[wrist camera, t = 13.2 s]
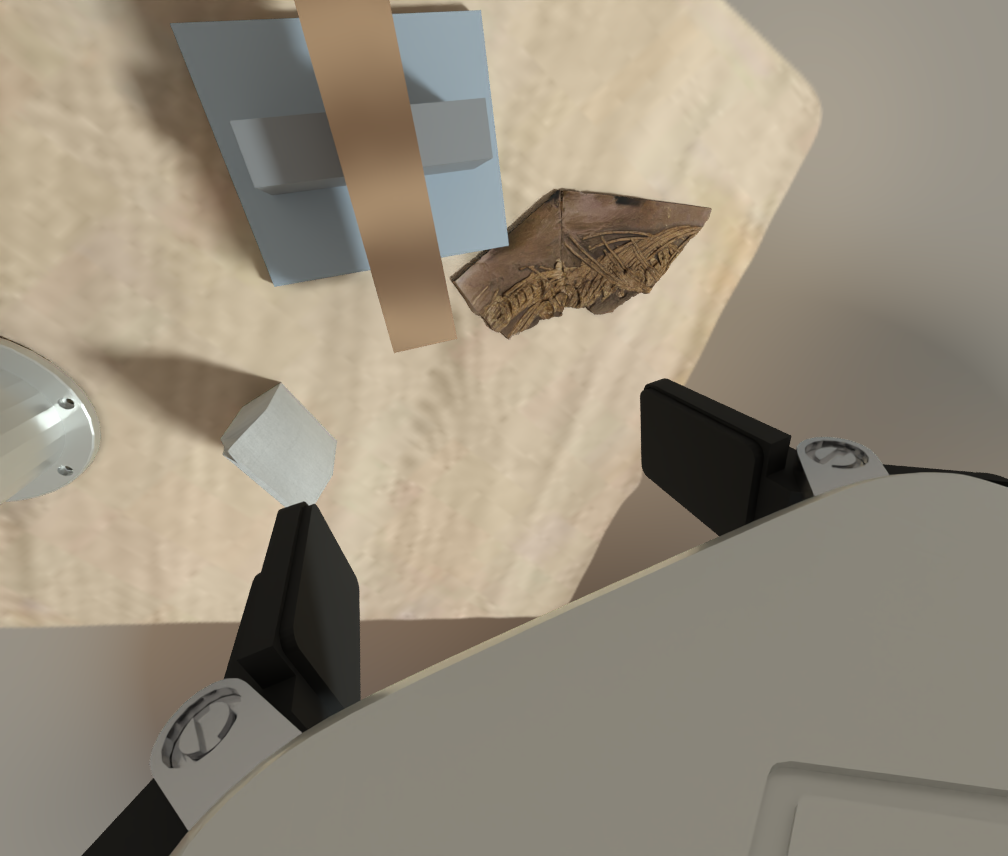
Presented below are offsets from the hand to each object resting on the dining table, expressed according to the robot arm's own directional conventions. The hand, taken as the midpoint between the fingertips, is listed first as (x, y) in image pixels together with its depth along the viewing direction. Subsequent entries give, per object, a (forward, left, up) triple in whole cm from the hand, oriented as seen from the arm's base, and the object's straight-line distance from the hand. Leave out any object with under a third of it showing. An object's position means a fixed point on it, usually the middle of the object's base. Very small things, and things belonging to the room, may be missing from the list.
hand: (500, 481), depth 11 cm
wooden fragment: (+17, +2, -27) cm, 32 cm away
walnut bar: (0, +11, -20) cm, 23 cm away
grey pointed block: (-12, -7, -26) cm, 30 cm away
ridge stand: (0, +11, -26) cm, 28 cm away
